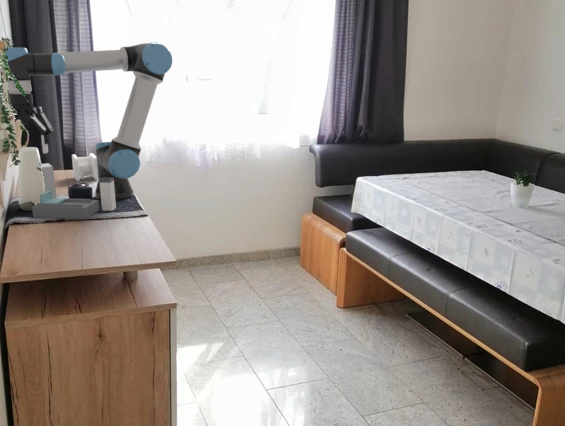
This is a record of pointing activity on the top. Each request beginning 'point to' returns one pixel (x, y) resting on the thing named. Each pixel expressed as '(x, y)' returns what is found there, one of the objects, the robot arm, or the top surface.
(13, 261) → the top surface
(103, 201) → the grey rectangular block
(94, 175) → the cable organizer
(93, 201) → the socket housing
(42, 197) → the shutter
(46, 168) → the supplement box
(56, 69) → the robot arm
